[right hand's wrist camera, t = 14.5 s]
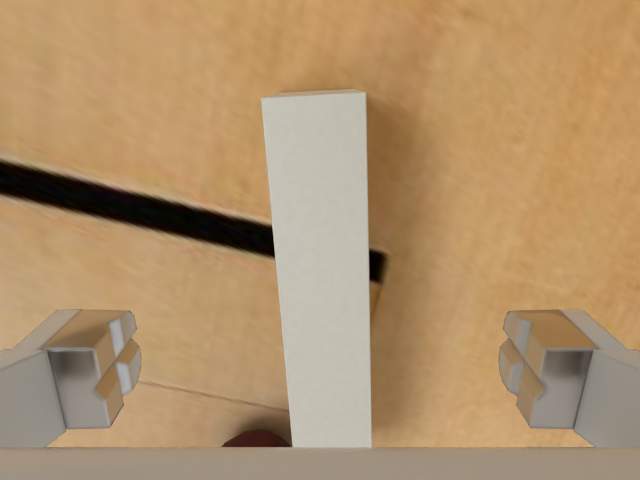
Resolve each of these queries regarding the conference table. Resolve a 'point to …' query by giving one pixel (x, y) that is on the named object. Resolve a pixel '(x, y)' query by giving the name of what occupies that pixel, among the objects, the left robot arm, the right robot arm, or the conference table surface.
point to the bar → (322, 260)
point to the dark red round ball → (257, 440)
